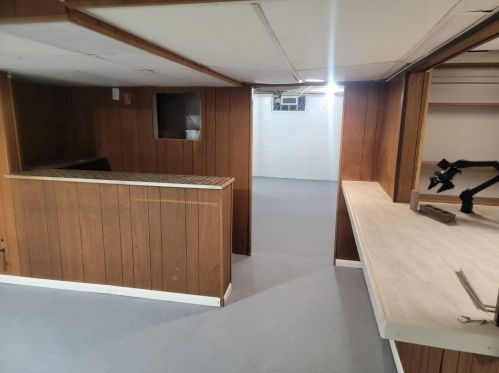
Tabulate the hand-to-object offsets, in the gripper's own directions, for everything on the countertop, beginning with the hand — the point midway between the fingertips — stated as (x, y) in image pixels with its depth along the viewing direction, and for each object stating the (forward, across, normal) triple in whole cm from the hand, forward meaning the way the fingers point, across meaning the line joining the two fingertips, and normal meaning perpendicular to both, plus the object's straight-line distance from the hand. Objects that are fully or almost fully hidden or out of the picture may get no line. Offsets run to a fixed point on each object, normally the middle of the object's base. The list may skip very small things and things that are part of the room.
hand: (432, 191), depth 216 cm
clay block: (+17, -2, +2) cm, 17 cm away
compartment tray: (+14, +16, +4) cm, 22 cm away
